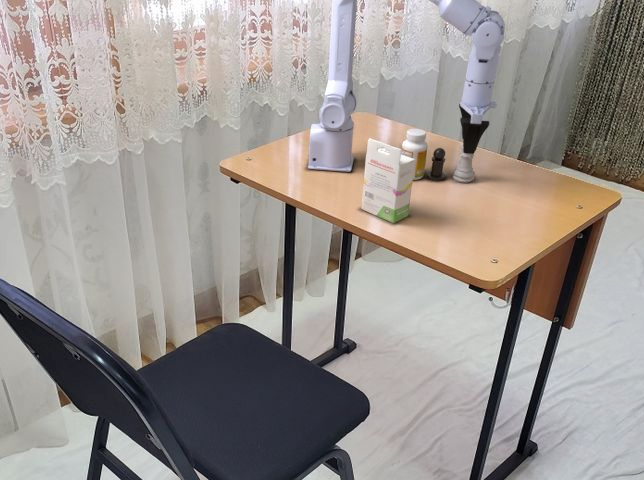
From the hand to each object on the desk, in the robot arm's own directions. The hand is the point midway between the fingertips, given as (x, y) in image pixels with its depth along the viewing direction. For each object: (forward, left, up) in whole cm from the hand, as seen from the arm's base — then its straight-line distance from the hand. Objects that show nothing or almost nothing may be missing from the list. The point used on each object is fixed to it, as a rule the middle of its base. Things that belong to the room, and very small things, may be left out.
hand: (468, 146), depth 153 cm
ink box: (-16, -19, -8) cm, 26 cm away
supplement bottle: (-11, 0, -8) cm, 13 cm away
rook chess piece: (0, 0, -8) cm, 8 cm away
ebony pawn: (-6, 0, -7) cm, 9 cm away
